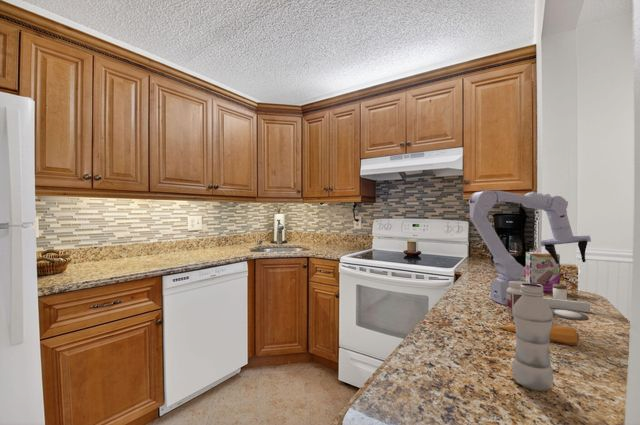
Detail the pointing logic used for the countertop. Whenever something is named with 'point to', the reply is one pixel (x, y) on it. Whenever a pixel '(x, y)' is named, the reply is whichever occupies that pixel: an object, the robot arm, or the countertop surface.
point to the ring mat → (569, 314)
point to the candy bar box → (542, 270)
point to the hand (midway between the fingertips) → (570, 262)
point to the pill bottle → (513, 295)
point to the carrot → (556, 334)
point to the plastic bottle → (532, 339)
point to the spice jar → (559, 291)
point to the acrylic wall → (567, 304)
